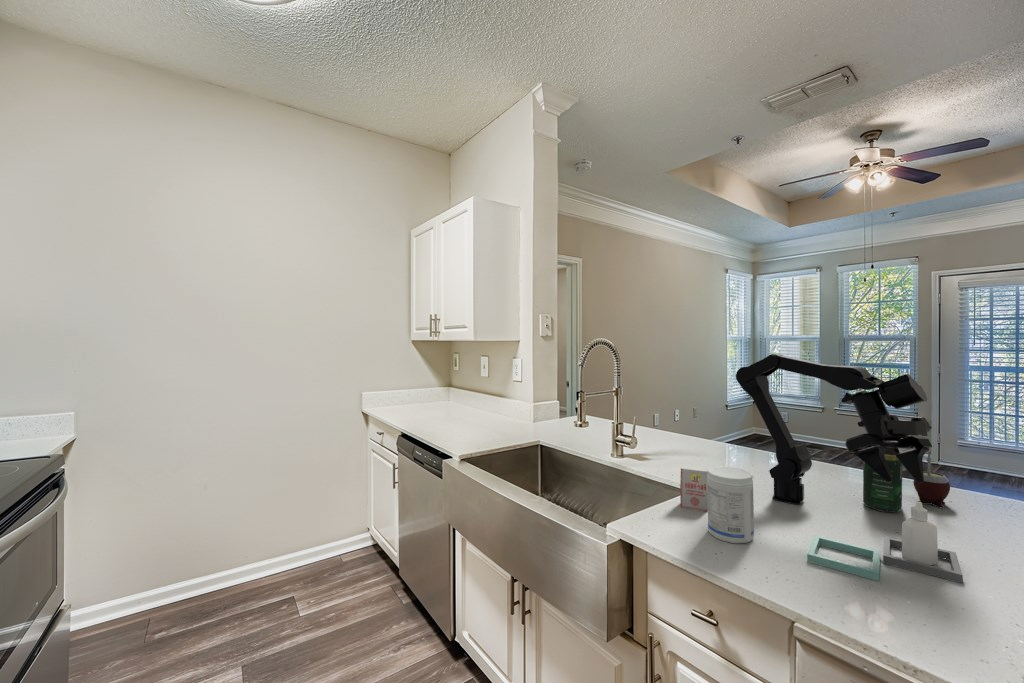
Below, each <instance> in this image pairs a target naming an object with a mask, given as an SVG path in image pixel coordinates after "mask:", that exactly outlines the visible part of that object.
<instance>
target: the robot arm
mask: <svg viewBox="0 0 1024 683" xmlns="http://www.w3.org/2000/svg"><path fill="white" fill-rule="evenodd" d="M778 370H782V371H787V372H790V373H795V374H799V375H803V376H807V377H811V378H816V379H820V380H822V381H825V382H827V383H828V384H830V385H832V386H834V387H837V388H840V389H842V390H844V391H850V392H851V391H856V390H857V392H854V393H850V392H845V394H844V396H843V397H842V398H841V400H840V401H841V403H843V404H846V405H852V404H853V407H854V409H855V411H856V413H857V416H858V417H859V420H860V421H858V422H857V425H858V427H860V428H864V430H865V433H862V434H861V433H860V434H858V435H855V436H852V437H849V438H846V441H845V443H844V445H845V447H846V450H847V453H848V452H850V453H853V455H854V456H857V457H858V458H859V459H860V460H862V462H863V461H864V462H865V463H866V464H868V465H869V466H870V467H871V468H872V469H873V470H874V471H875V472H877V473H878V474H879V475H880V476H881V477H882V478H883V479H884V480H885V481H886V482H891V481H893V480H892V476H891V473H890V470H889V468H888V465H887V462H886V460H885V457H884V454H885V451H886V448H893V450H894V451H895V452H896V453H897V455H895V456H896V457H897V458H898V459H899V461H900V462H901V463H902V466H903V467H904V468H905V469H906V471H908V473H909V474H910V475H911V476H912V478H913V480H914V479H915V480H916V481H917V482H919V483H920V482H924V475H923V471H924V465H923V458H924V456H925V454H926V453H928V452H930V449H931V448H933V445H932V443H931V441H930V440H929V438H927V437H928V435H929V434H928V432H930V431H931V430H932V425H930V422H929V421H928V420H927V419H926V417H914V416H913V417H911V419H910V420H900V419H899V418H898V416H896V415H891V414H890V412H889V410H888V408H887V406H888V407H893V408H894V409H896V410H899V409H902V408H907V407H910V406H914V405H917V404H920V403H924V402H927V401H928V397H927V394H926V392H925V389H924V388H923V387H922V386H921V385H919V384H918V382H917V381H916V380H915V379H914V378H913V377H912V376H911V375H910V373H905V374H901V375H899V376H897V377H895V378H893V379H889V380H886V381H884V380H882V379H880V378H878V377H875V376H873V375H871V373H870V372H869V370H868V369H866V368H865V367H862V366H854V365H853V366H852V365H836V364H835V365H832V364H831V365H830V364H825V363H820V362H815V361H811V360H806V359H800V358H797V357H792V356H787V355H784V354H781V353H772V354H768V355H767V356H766V357H764V358H763V359H760V360H758V361H756V362H754V363H752V364H750V365H748V366H742V367H739V368H738V369H737V371H736V373H735V378H736V379H735V380H736V382H737V383H738V385H739V386H740V387H741V389H742V390H743V391H744V392H746V393H747V394H748V395H749V396H750V397H751V398H752V400H753V402H754V404H755V406H756V408H757V410H758V412H759V414H760V416H761V419H762V420H763V423H764V424H765V426H766V429H767V431H768V432H769V434H770V436H771V439H772V441H773V442H774V445H775V446H774V447H775V458H776V461H777V464H776V465H775V466H774V467H772V468H770V469H769V471H768V472H769V475H770V477H771V479H773V495H772V500H775V501H779V502H784V503H788V504H793V505H797V506H798V505H801V503H802V502H804V500H805V484H804V483H802V481H803V480H802V478H803V477H804V476H805V474H806V472H808V471H809V470H811V468H812V465H813V462H812V458H813V456H812V454H810V452H809V450H808V447H807V445H806V444H805V443H801V444H799V443H798V442H797V441H796V440H795V439H794V438H793V436H792V434H791V431H790V430H789V429H788V427H787V424H786V423H785V420H784V419H783V417H782V415H781V413H780V411H779V409H778V407H777V404H776V403H775V401H774V399H773V397H772V395H771V393H770V382H769V378H768V377H769V376H771V375H773V374H774V373H775V372H776V371H778ZM858 390H861V391H858ZM870 390H871V391H870ZM883 443H884V444H883ZM891 443H892V444H891Z"/></svg>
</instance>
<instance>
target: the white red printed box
mask: <svg viewBox="0 0 1024 683" xmlns="http://www.w3.org/2000/svg"><path fill="white" fill-rule="evenodd" d="M707 475H708V470H699V469H688V468H680V482H679V483H680V486H679V487H680V488H679V491H680V494H679V496H680V499H679V500H680V508H684V509H690V510H697V511H703V512H708V502H707Z"/></svg>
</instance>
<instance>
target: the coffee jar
mask: <svg viewBox="0 0 1024 683" xmlns="http://www.w3.org/2000/svg"><path fill="white" fill-rule="evenodd" d="M883 444H884V443H883ZM891 444H892V443H891ZM895 455H897V453H896V452H895V451H894V450H893V448H886V451H885V454H884V457H885V460H886V462H887V465H888V468H889V470H890V473H891V476H892V480H893V481H891V482H886V481H885V480H884V479H883V478H882V477H881V476H880V475H879V474H878V473H877V472H875V471H874V470H873V469H872V468H871V467H870V466H869V465H868V464H866V463H865V462H864V461H863V460H862V465H863V467H862V471H863V475H862V479H863V480H862V481H863V483H862V485H863V486H862V499H863V500H862V502H863V505H865V506H866V507H869V508H871V509H874V510H876V511H879V510H880V512H884V511H886V512H892V513H899V512H900V511H901V510H902V508H903V464H902V463H901V462H900V461H899V459H898V458H897V457H896V456H895ZM886 512H885V513H886Z"/></svg>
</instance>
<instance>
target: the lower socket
mask: <svg viewBox="0 0 1024 683" xmlns="http://www.w3.org/2000/svg"><path fill="white" fill-rule="evenodd" d="M820 546H823V547H826V548H830V547H831V548H830V549H834V550H839V551H841V552H846V553H851V554H855V555H858V556H861V555H862V556H861V557H865V556H866V557H867V558H869V557H870V558H871V559H872V564H871V568H869V567H865V566H861V565H858V564H854V563H850V562H846V561H842V560H838V559H835V558H832V557H828V556H824V555H820V554H817V553H818V550H819V547H820ZM806 555H807V558H806V559H807V561H806V562H808V563H812V564H815V565H820V566H822V567H825V568H830V569H834V570H837V571H840V572H844V573H849V574H852V575H854V576H858V577H862V578H865V579H869V580H872V581H876V582H879V581H880V566H881V564H880V563H881V551H880V550H878V549H874V548H869V547H866V546H862V545H858V544H853V543H849V542H845V541H841V540H837V539H832V538H829V537H824V536H821V535H816V534H814V535H813V538H812V540H811V544H810V546H809V548H808V551H807V553H806ZM866 557H865V558H866Z"/></svg>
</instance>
